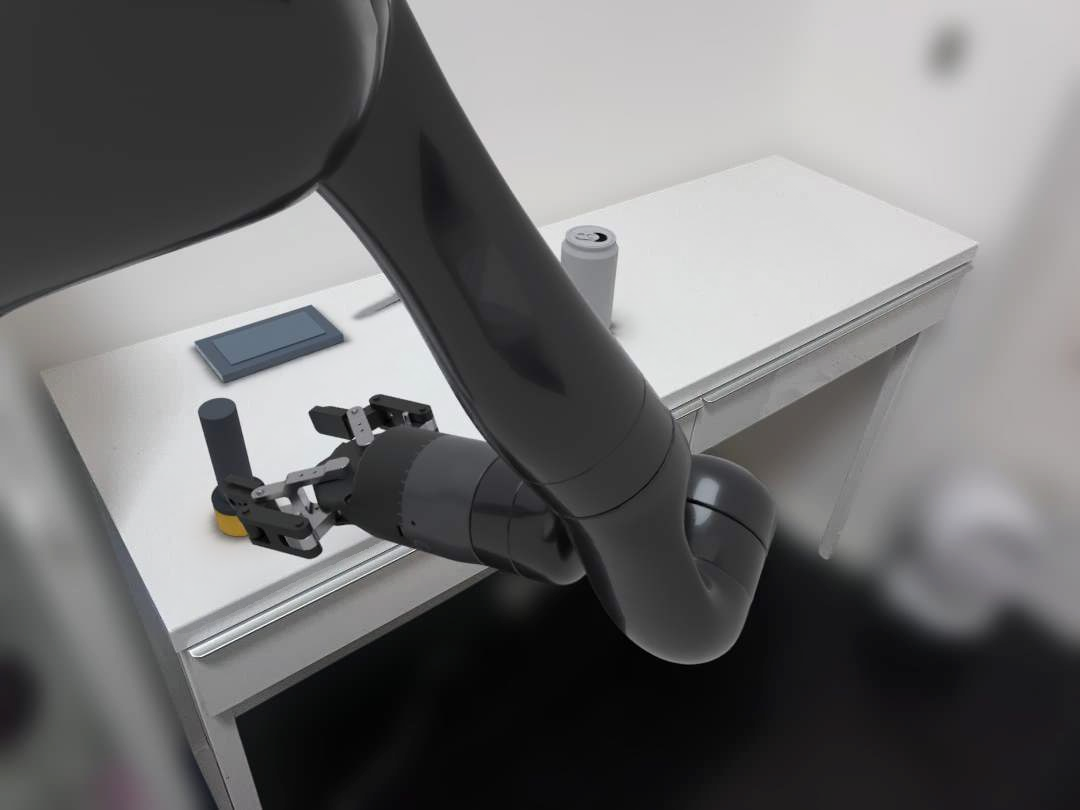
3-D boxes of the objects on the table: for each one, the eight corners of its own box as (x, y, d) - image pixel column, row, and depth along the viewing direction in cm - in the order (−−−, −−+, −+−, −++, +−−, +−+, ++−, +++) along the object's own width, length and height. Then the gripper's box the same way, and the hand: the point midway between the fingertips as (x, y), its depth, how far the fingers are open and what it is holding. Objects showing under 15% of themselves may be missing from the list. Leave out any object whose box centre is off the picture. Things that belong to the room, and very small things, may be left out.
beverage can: (611, 343, 94) (622, 249, 87) (556, 340, 94) (562, 246, 86) (608, 314, 99) (618, 223, 92) (556, 312, 99) (561, 221, 91)
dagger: (366, 318, 96) (355, 309, 96) (366, 324, 96) (355, 315, 97) (431, 283, 102) (420, 274, 102) (431, 288, 102) (420, 280, 103)
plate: (223, 383, 85) (221, 374, 84) (195, 348, 89) (193, 340, 89) (344, 341, 92) (343, 332, 91) (312, 311, 97) (311, 303, 96)
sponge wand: (214, 538, 68) (181, 427, 60) (222, 501, 71) (191, 392, 64) (268, 534, 68) (242, 424, 61) (273, 497, 72) (249, 389, 64)
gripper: (493, 383, 53) (322, 358, 62) (351, 524, 44) (172, 471, 52) (518, 471, 57) (354, 436, 66) (393, 618, 48) (221, 555, 56)
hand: (274, 452), depth 59 cm, fingers open, 8 cm apart
